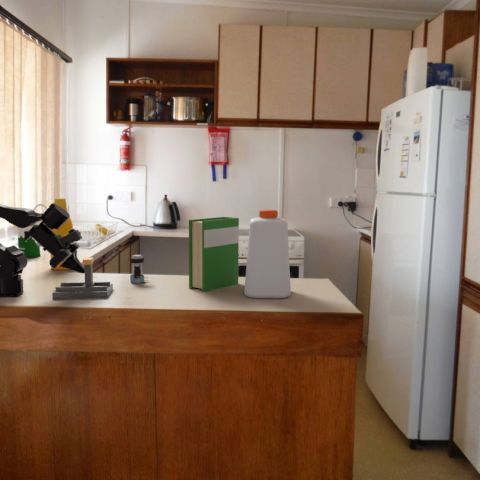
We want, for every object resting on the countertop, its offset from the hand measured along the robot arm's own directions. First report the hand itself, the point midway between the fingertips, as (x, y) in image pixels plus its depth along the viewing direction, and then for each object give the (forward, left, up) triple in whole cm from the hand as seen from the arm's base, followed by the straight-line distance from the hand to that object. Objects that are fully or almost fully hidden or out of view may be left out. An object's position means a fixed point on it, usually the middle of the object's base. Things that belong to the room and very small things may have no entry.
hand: (84, 272), depth 165 cm
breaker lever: (+1, 0, -5) cm, 5 cm away
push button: (+16, +17, -7) cm, 24 cm away
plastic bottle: (+60, -4, -7) cm, 61 cm away
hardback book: (+43, +9, -7) cm, 45 cm away
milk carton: (-40, +77, -7) cm, 87 cm away
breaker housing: (0, 0, -7) cm, 7 cm away
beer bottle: (-18, +47, -7) cm, 51 cm away
